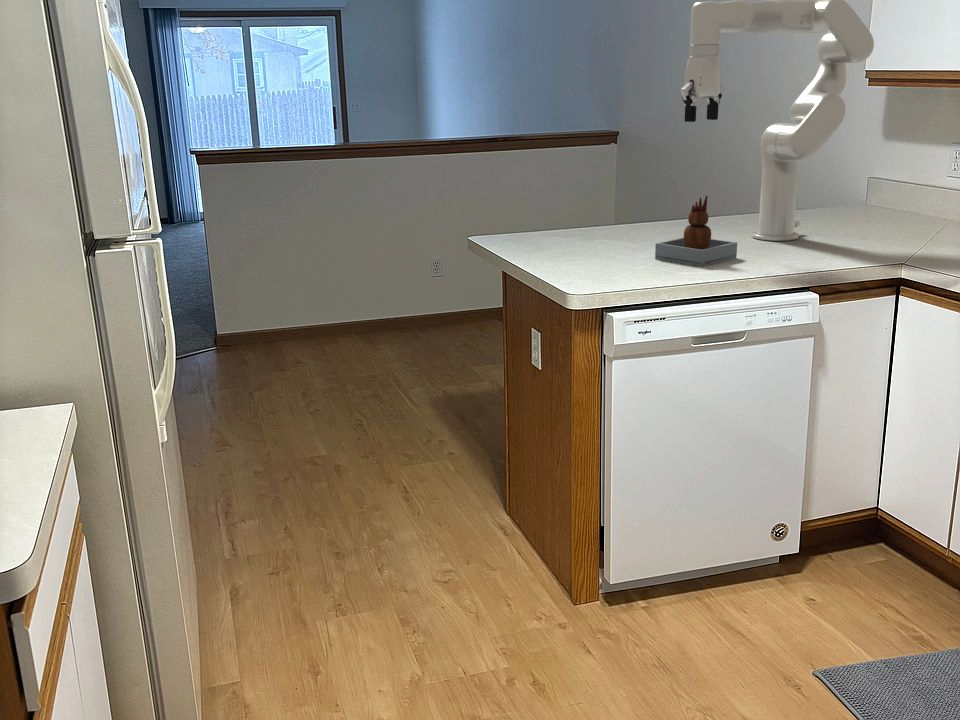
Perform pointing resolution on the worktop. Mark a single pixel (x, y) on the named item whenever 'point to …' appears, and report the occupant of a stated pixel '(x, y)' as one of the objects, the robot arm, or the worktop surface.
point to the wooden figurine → (698, 227)
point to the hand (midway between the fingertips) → (701, 120)
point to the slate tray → (695, 252)
